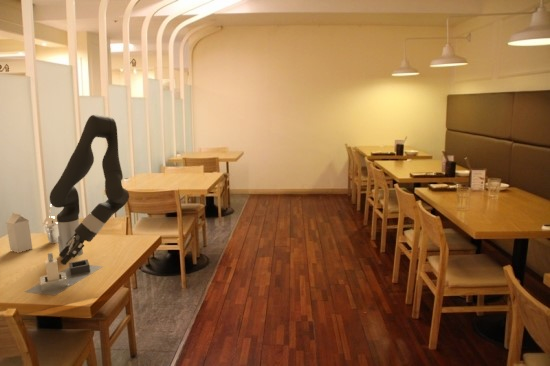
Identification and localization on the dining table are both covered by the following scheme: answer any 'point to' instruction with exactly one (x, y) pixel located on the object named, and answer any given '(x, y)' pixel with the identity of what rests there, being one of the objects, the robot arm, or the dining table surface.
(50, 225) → the cup with straw
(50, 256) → the plug
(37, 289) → the port board
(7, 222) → the milk carton
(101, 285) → the dining table surface
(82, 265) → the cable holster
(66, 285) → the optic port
